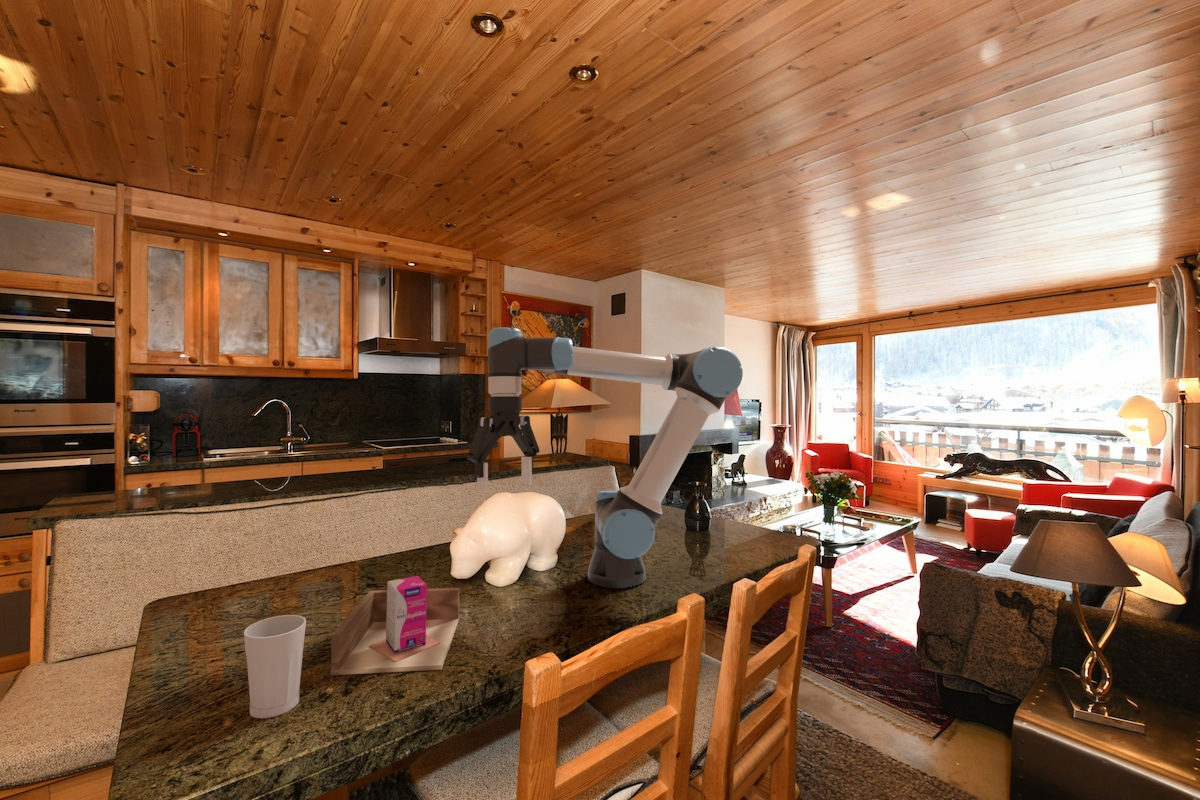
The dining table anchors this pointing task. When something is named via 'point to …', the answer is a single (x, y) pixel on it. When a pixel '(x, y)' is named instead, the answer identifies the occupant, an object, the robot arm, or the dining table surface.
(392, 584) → the supplement box
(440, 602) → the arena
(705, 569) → the dining table surface
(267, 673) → the cup
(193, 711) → the dining table surface
